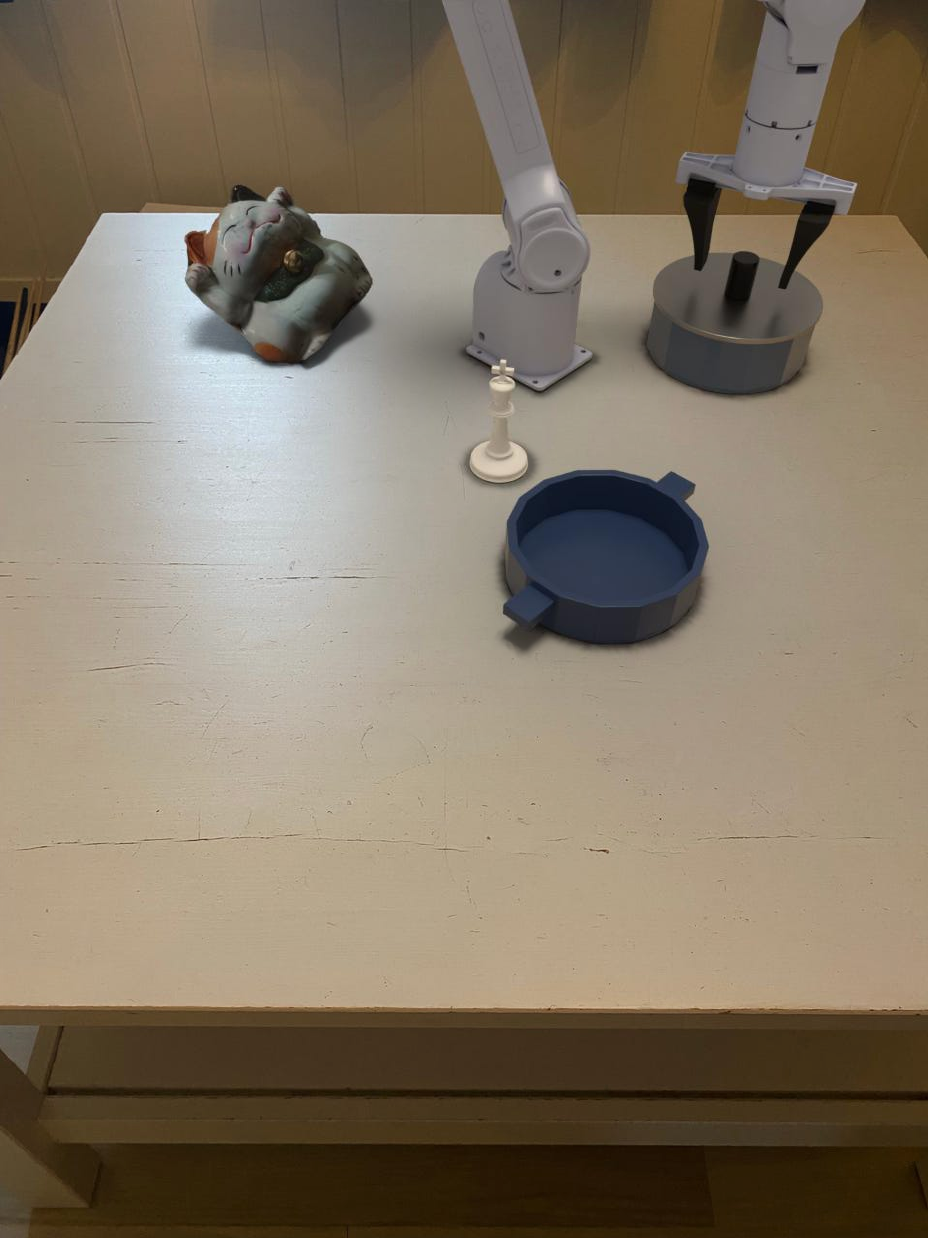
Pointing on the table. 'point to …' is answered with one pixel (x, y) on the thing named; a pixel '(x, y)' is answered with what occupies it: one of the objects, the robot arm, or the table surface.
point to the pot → (723, 358)
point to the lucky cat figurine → (274, 274)
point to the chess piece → (499, 435)
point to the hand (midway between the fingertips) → (741, 274)
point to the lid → (737, 299)
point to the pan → (604, 555)
